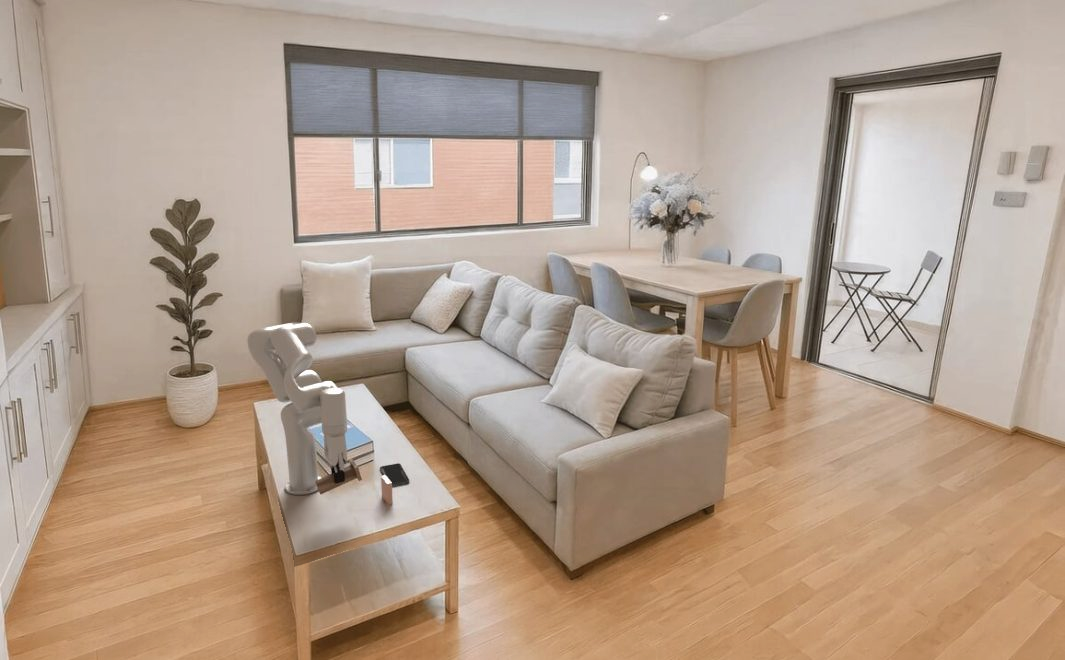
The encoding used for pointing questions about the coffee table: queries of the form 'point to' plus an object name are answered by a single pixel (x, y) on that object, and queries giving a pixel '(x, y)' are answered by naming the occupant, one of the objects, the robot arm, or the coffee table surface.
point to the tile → (386, 490)
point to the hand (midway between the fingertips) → (338, 479)
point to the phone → (395, 474)
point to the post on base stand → (350, 474)
